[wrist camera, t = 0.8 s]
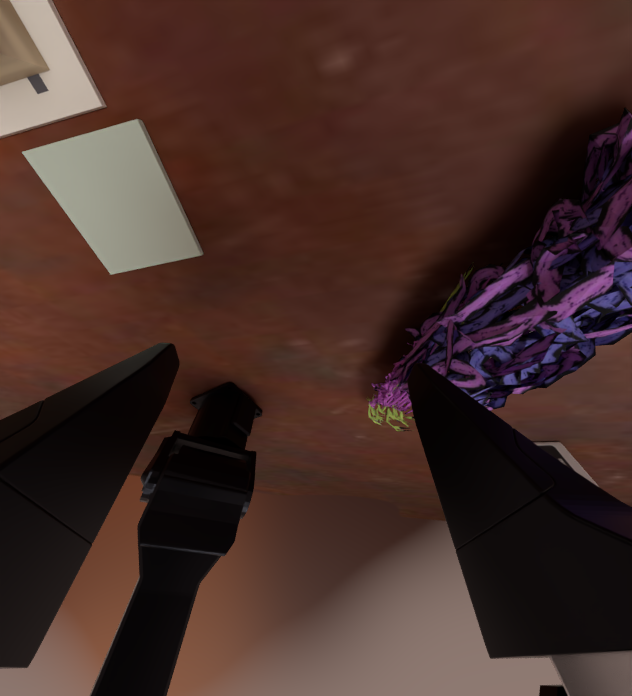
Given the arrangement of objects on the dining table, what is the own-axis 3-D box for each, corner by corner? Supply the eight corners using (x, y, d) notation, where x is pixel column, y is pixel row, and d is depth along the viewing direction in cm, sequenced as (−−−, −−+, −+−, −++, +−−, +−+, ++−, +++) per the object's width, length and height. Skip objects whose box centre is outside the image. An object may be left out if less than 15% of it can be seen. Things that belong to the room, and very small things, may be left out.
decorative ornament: (905, 223, 12) (433, 478, 27) (651, 176, 19) (389, 397, 34) (1266, -135, 5) (344, 487, 19) (639, 4, 12) (311, 382, 27)
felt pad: (203, 253, 20) (201, 255, 19) (114, 272, 20) (110, 274, 20) (142, 120, 15) (137, 119, 14) (29, 152, 16) (21, 152, 15)
